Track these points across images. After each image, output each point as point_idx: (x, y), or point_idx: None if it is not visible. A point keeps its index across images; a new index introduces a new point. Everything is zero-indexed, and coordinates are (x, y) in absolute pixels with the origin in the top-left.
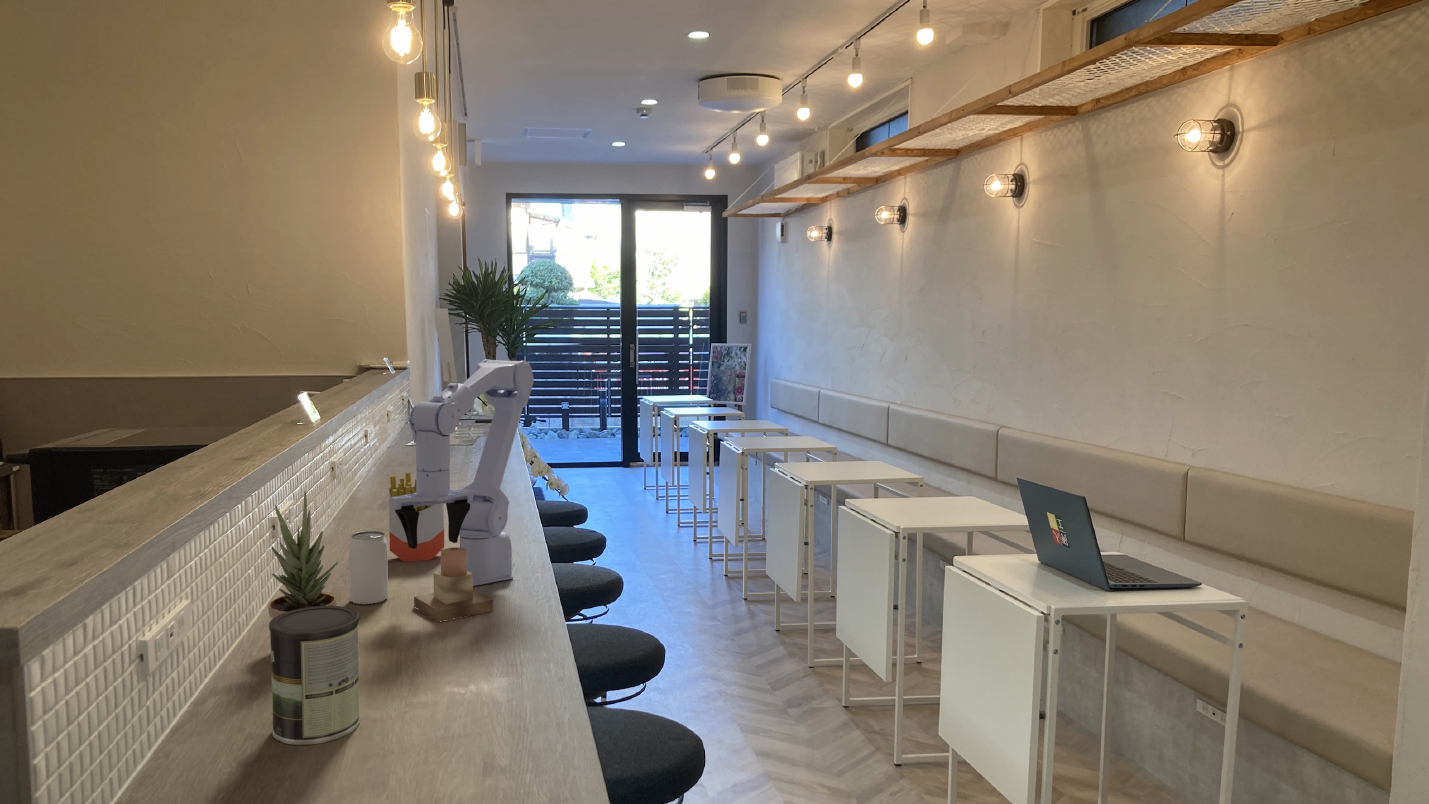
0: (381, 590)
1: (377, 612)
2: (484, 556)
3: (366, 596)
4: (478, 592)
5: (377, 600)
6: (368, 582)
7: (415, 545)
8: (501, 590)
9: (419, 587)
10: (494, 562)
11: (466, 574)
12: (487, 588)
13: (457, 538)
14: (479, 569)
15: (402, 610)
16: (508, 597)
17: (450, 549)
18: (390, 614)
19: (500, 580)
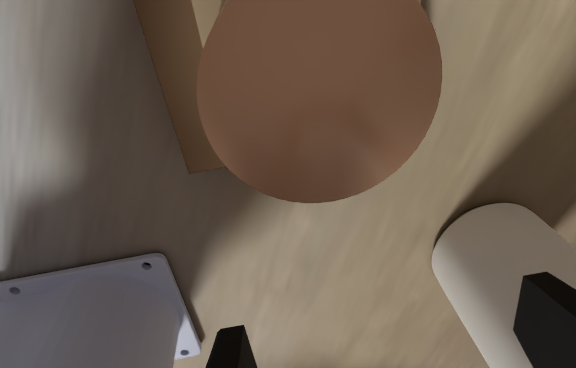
0: (490, 230)
1: (524, 118)
2: (66, 353)
3: (533, 216)
4: (154, 65)
5: (489, 207)
6: (560, 246)
7: (551, 284)
8: (47, 181)
9: (312, 302)
10: (34, 335)
11: None
12: (100, 222)
13: (216, 349)
14: (107, 309)
15: (449, 102)
16: (21, 80)
17: (333, 152)
18: (503, 75)
19: (41, 274)
